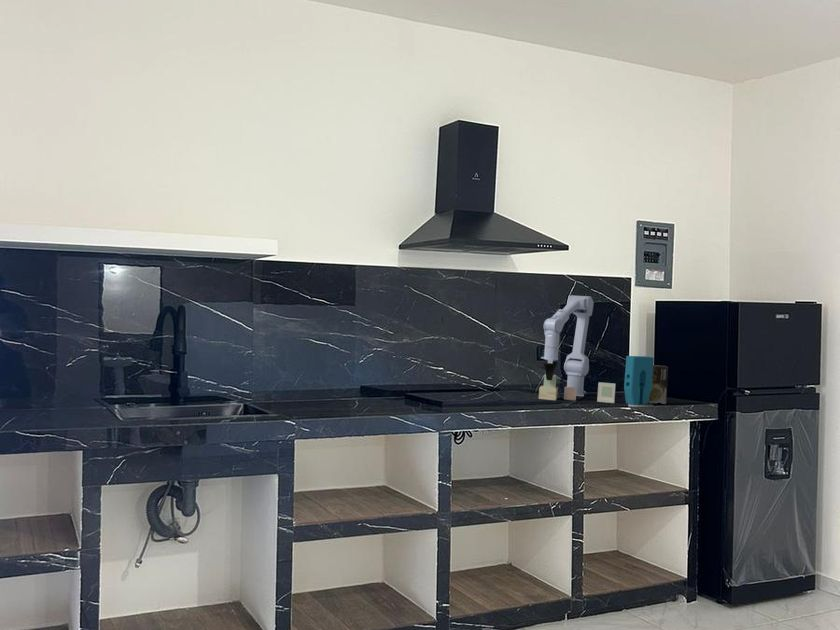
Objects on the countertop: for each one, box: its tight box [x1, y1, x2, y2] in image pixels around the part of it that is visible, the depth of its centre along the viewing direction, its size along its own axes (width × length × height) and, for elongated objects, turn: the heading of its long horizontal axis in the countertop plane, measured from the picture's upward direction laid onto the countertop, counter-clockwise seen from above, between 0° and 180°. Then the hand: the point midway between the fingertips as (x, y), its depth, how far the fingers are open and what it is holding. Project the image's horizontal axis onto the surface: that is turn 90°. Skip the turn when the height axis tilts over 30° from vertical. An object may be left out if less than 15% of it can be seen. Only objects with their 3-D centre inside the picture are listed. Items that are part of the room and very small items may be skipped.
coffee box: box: [648, 364, 669, 405], centre depth 379 cm, size 9×6×16 cm
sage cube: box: [542, 373, 557, 388], centre depth 368 cm, size 5×5×5 cm
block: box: [623, 355, 655, 406], centre depth 370 cm, size 12×5×20 cm, turn 120°
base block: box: [538, 385, 559, 401], centre depth 368 cm, size 7×7×5 cm
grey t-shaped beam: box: [596, 381, 616, 404], centre depth 370 cm, size 4×7×8 cm, turn 80°
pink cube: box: [563, 386, 577, 401], centre depth 371 cm, size 5×5×5 cm
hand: (549, 379), depth 368 cm, fingers open, 7 cm apart
